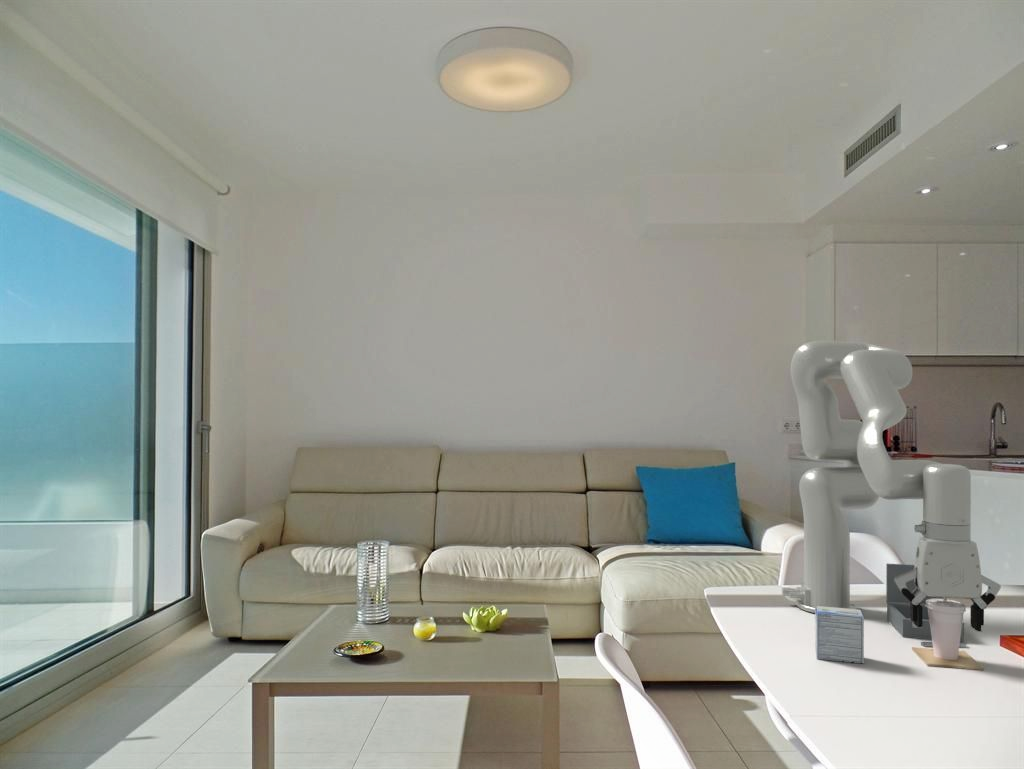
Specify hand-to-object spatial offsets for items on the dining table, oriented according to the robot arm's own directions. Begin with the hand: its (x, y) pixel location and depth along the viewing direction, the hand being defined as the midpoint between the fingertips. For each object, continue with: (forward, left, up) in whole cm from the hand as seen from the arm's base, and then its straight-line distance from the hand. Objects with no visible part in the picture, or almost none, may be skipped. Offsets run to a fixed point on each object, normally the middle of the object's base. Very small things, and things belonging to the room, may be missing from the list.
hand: (946, 627), depth 137 cm
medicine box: (-19, -4, -6) cm, 20 cm away
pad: (0, 0, -6) cm, 6 cm away
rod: (+2, +8, -6) cm, 10 cm away
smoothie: (0, 0, -6) cm, 6 cm away
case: (+2, +18, -6) cm, 19 cm away
